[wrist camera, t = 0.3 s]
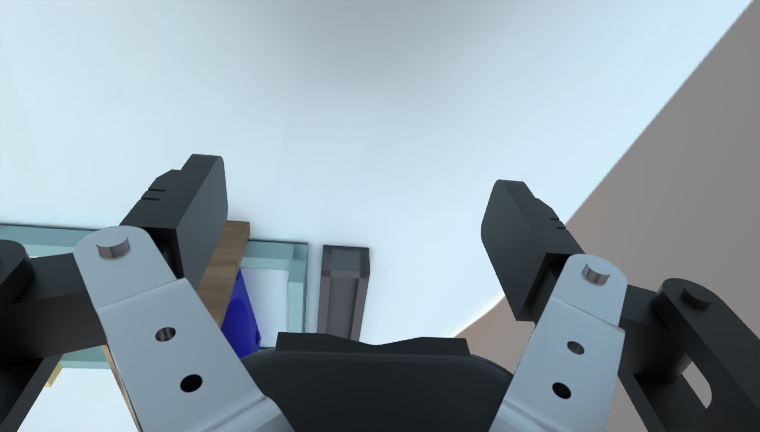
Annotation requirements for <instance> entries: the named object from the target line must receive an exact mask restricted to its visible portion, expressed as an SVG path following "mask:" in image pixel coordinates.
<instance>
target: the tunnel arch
mask: <svg viewBox="0 0 760 432" xmlns="http://www.w3.org/2000/svg"><path fill="white" fill-rule="evenodd" d="M249 235H250V226H249V222H238V221H226V224H225V226H224V229H223V231H222V233H221V236H220V238H219V240H218V243H217V245H216V247H215V249H214V252H213V254H212V256H211V259H210V261H209V263H208V266H207V268H206V270H205V273H204V275H203V277H202V280H201V282H200V284H199V287H198V289H197V291H196V293H197V295H198V297H199V298H200V300H201V301H202V303H203V304H204V306H205V307H206V309H207V310H208V312H209V313H210V315H211V316H212V318H213V320H214V321H215V323H216V324H217V326H218V327H219V329H220V330H221V327H222V324H223V320H224V317H225V314H226V310H227V307H228V304H229V301H230V297H231V294H232V291H233V288H234V284H235V281H236V278H237V274H238V271H239V268H240V265H241V261H242V258H243V255H244V252H245V248H246V245H247V242H248V238H249ZM101 347H102V349H103V352H104V354H105V356H106V359H107V361H108V363H109V365H110V368H111V370H112V372H113V374H114V377H115V379H116V381H117V384H118V386H119V388H120V390H121V393H122V395H123V397H124V400H125V402H126V404H127V406H128V409H129V411H130V413H131V415H132V418H133V420H134V422H135V425H136V427H137V429H138V431H139V428H138V426H137V423H136V420H135V418H134V415H133V412H132V410H131V407H130V405H129V402H128V399H127V397H126V394H125V392H124V389H123V387H122V384H121V381H120V379H119V376H118V374H117V371H116V369H115V366H114V363H113V361H112V358H111V356H110V353H109V351H108V348H107V345H102V346H101ZM139 432H140V431H139Z"/></svg>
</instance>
